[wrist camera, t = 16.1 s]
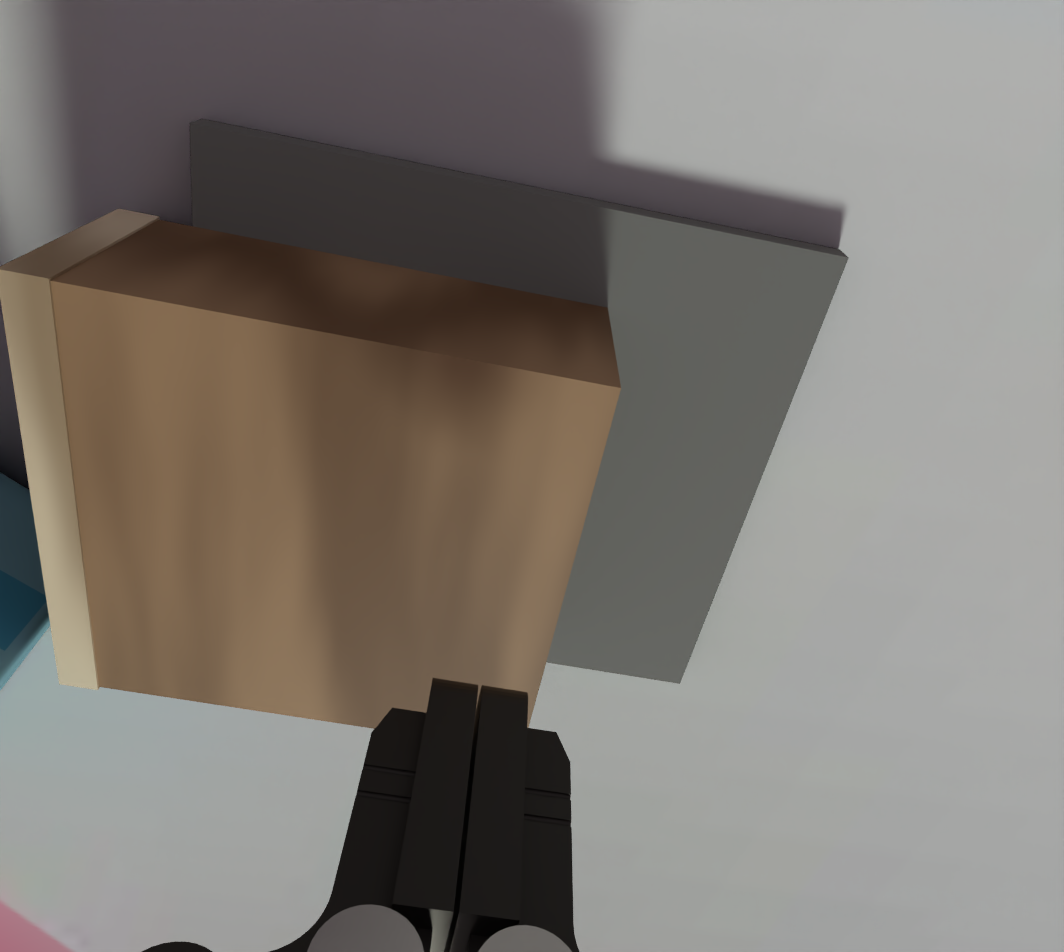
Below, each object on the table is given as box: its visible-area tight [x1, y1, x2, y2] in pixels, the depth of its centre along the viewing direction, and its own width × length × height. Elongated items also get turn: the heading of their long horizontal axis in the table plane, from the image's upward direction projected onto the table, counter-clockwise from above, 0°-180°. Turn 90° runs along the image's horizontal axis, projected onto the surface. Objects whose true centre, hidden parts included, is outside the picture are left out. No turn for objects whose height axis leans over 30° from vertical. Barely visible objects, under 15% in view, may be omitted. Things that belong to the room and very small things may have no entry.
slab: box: [0, 209, 621, 729], centre depth 17 cm, size 4×9×10 cm
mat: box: [190, 119, 848, 684], centre depth 19 cm, size 13×12×1 cm
